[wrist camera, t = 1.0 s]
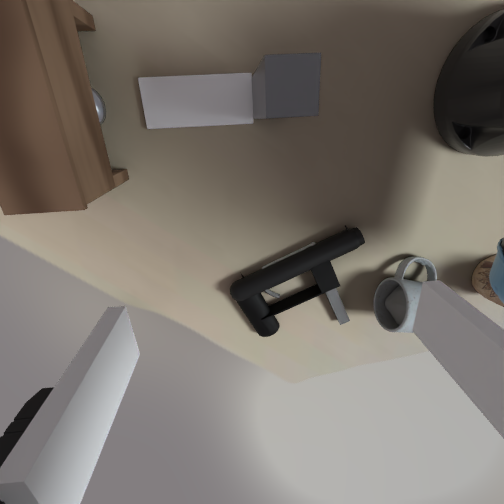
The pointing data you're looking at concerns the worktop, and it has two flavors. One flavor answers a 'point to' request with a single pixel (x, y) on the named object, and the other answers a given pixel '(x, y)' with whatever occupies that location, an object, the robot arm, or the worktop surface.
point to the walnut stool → (48, 111)
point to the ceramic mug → (400, 297)
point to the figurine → (485, 280)
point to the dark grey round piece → (99, 106)
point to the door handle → (288, 268)
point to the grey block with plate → (235, 94)
